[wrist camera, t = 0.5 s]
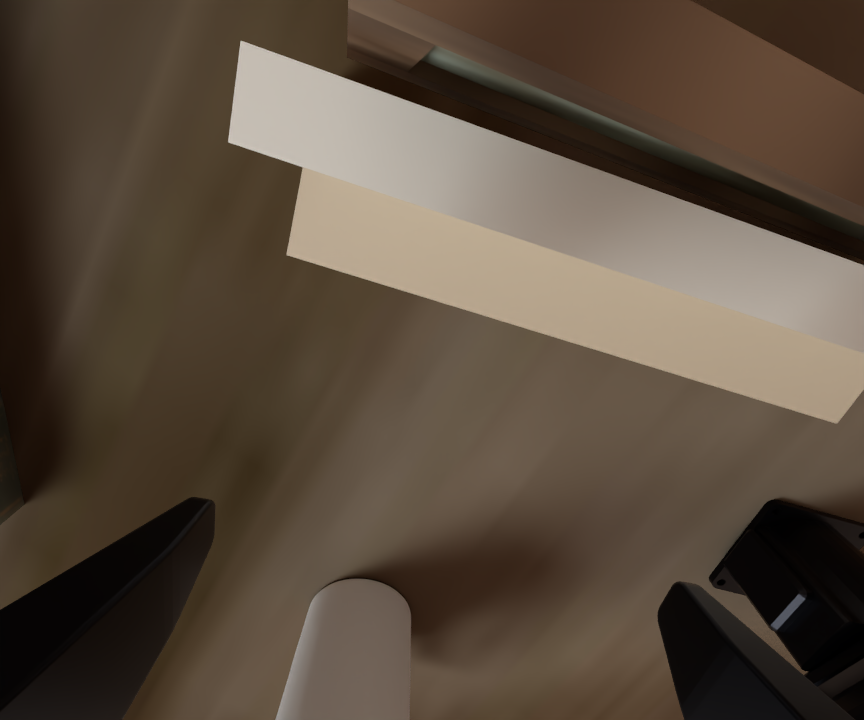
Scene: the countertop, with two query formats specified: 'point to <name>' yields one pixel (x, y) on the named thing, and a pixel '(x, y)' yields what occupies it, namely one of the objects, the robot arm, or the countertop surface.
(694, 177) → the picture frame
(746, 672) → the robot arm
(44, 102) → the countertop surface
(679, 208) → the long wooden tray
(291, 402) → the countertop surface
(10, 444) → the open lidded box
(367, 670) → the mug
